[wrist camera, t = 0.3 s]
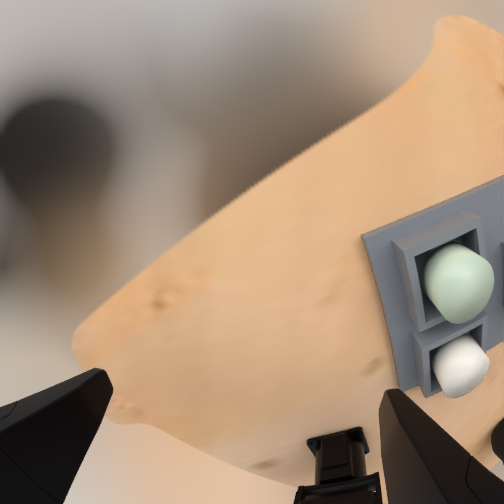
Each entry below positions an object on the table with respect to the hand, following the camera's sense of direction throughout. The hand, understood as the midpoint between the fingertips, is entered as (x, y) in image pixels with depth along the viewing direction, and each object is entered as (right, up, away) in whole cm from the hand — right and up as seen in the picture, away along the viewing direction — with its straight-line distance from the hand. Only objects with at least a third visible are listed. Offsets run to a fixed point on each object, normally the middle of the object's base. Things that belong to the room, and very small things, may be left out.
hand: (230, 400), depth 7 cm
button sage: (+14, +3, +8) cm, 16 cm away
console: (+20, +2, +10) cm, 23 cm away
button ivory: (+17, -4, +10) cm, 20 cm away
